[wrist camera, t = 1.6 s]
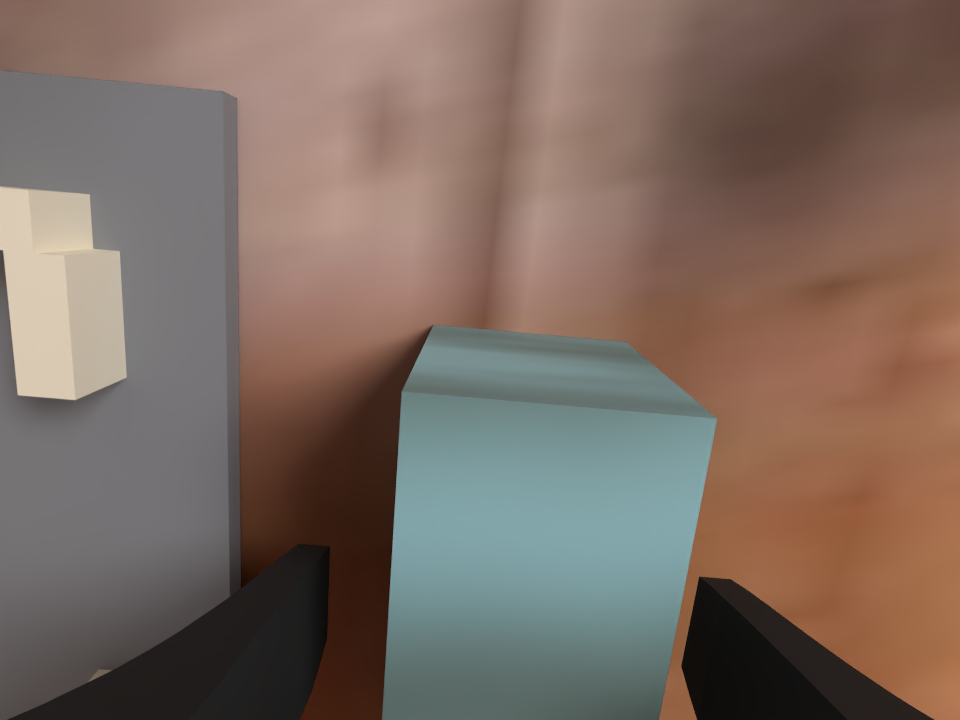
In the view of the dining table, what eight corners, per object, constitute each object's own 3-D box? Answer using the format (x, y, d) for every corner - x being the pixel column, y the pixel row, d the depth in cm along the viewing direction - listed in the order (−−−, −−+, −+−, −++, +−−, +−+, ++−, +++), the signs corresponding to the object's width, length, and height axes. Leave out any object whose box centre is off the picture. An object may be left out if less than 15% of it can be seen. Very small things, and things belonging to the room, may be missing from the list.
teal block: (565, 730, 15) (606, 986, 10) (406, 717, 14) (367, 968, 10) (623, 340, 12) (717, 418, 7) (434, 323, 12) (401, 391, 7)
